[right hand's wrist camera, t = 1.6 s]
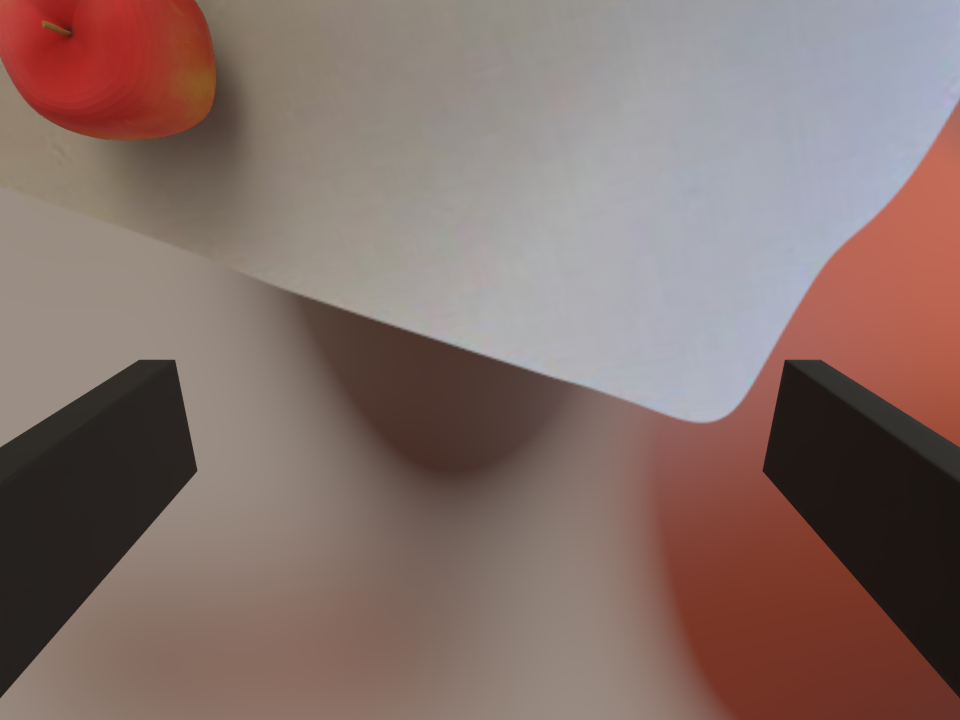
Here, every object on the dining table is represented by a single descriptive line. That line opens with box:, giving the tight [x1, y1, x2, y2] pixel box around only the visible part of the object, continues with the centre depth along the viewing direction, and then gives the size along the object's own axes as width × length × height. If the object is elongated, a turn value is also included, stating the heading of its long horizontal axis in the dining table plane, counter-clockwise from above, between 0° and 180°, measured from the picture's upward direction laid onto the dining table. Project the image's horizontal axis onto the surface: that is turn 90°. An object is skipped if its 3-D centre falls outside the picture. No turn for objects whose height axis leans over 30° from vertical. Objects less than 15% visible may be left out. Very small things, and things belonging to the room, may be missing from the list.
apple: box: [0, 0, 216, 141], centre depth 30 cm, size 10×10×10 cm
